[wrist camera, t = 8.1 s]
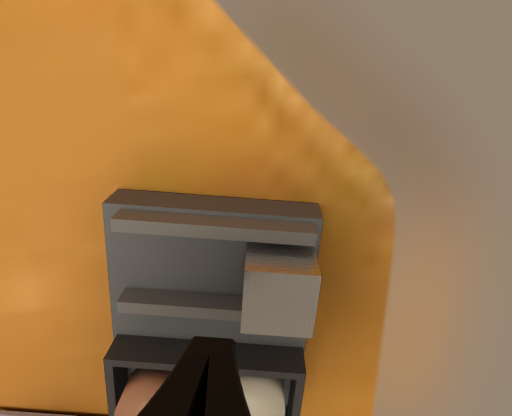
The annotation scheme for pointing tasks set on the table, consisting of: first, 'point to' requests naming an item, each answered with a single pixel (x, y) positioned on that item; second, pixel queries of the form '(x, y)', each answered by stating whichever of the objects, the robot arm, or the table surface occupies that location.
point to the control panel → (195, 281)
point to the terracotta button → (139, 390)
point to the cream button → (264, 395)
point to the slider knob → (280, 290)
